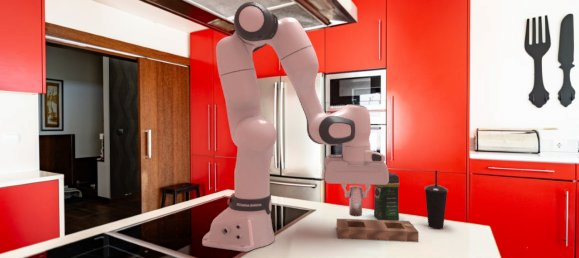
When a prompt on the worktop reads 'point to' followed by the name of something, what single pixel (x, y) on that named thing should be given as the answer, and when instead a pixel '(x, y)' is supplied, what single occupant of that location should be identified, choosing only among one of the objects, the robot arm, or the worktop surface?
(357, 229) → the board
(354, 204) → the pin
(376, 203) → the coffee jar
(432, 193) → the drinking cup
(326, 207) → the worktop surface
